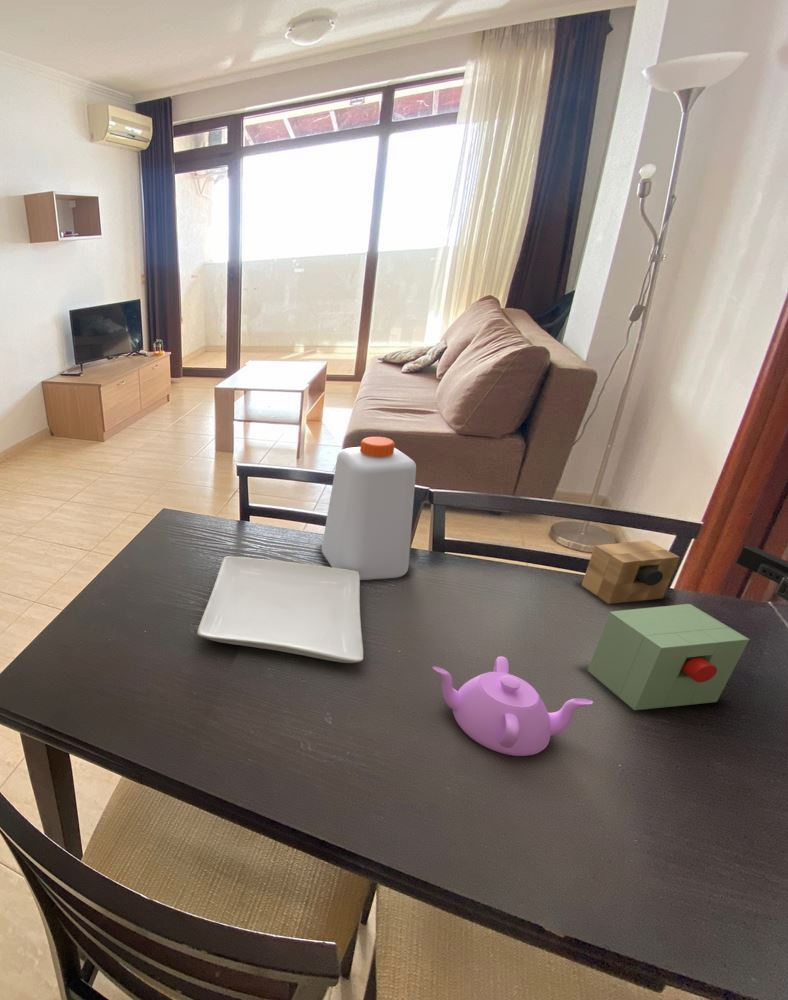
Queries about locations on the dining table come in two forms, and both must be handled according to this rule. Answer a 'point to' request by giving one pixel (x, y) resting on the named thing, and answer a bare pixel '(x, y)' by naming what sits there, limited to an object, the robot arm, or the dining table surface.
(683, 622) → the green box
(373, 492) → the plastic bottle
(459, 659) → the dining table surface
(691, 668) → the red button
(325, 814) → the dining table surface
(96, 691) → the dining table surface
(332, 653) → the square plate
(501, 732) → the teapot
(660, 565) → the wooden button box
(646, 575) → the black button
